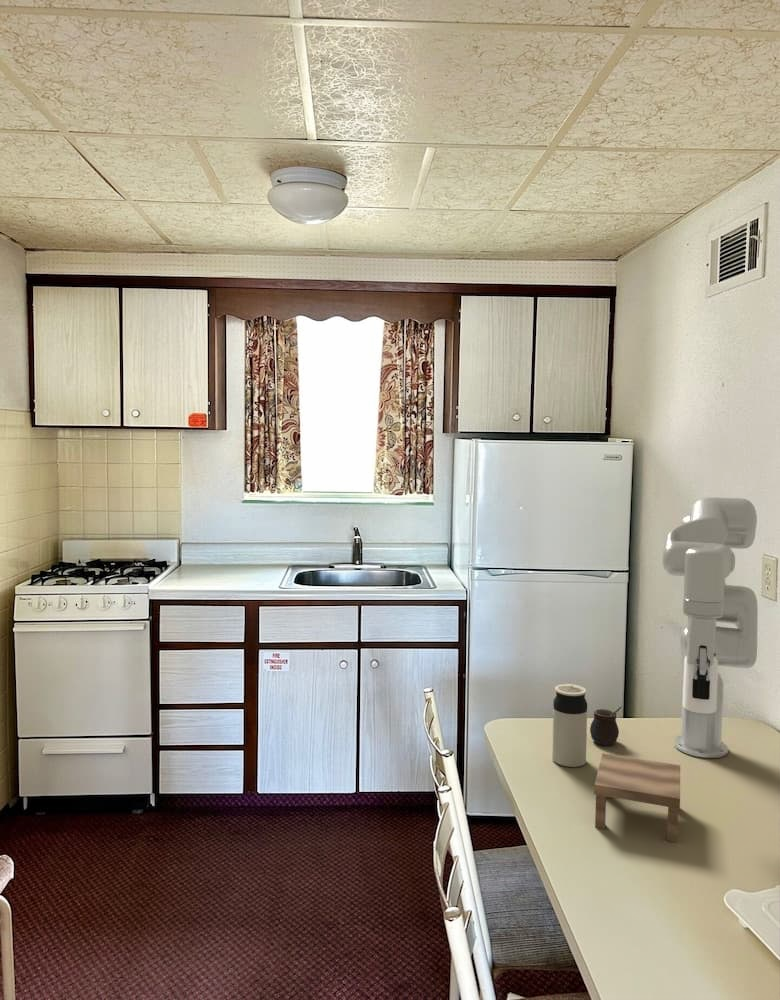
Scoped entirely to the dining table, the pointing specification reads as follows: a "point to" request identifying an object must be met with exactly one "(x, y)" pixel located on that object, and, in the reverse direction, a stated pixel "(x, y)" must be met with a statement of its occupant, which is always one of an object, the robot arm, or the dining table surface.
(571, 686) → the travel mug
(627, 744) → the dining table surface
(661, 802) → the small wooden table
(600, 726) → the mate gourd
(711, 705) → the can
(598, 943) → the dining table surface
